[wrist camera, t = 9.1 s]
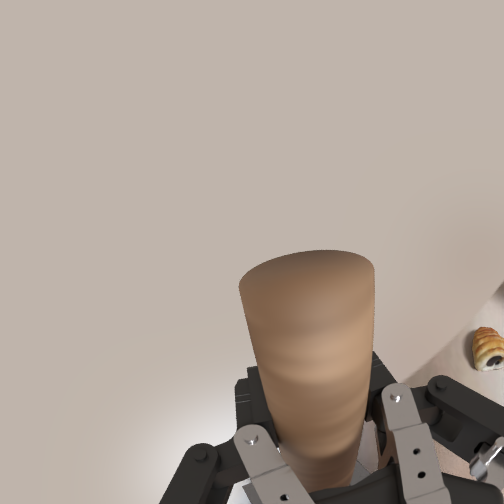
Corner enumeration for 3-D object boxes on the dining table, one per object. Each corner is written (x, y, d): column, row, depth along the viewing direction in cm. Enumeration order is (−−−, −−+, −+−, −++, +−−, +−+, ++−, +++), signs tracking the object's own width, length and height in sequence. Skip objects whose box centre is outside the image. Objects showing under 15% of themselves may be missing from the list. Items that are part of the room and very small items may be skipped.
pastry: (465, 336, 33) (469, 317, 32) (496, 334, 30) (501, 315, 28) (473, 374, 25) (481, 355, 24) (508, 370, 22) (517, 351, 21)
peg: (356, 452, 13) (369, 246, 9) (346, 502, 9) (380, 305, 5) (297, 449, 14) (262, 254, 10) (280, 497, 11) (215, 308, 7)
